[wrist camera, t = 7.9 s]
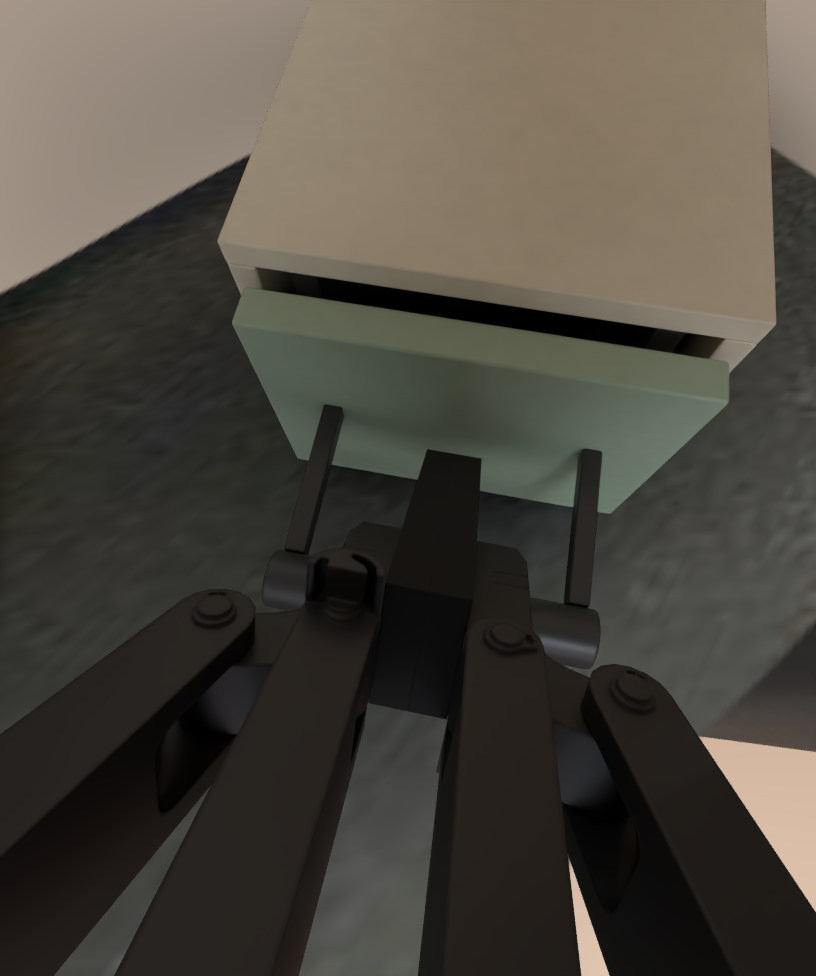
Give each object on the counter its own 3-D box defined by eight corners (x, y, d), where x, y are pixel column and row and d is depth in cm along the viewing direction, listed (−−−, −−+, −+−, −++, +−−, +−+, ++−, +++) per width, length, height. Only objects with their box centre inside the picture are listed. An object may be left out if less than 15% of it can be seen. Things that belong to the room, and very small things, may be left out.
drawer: (597, 686, 20) (731, 678, 11) (252, 617, 21) (143, 562, 12) (632, 224, 27) (730, 11, 18) (373, 188, 28) (356, -30, 19)
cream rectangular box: (621, 485, 23) (777, 324, 13) (297, 429, 24) (216, 240, 14) (641, 197, 28) (764, -74, 18) (374, 160, 29) (354, -114, 19)
